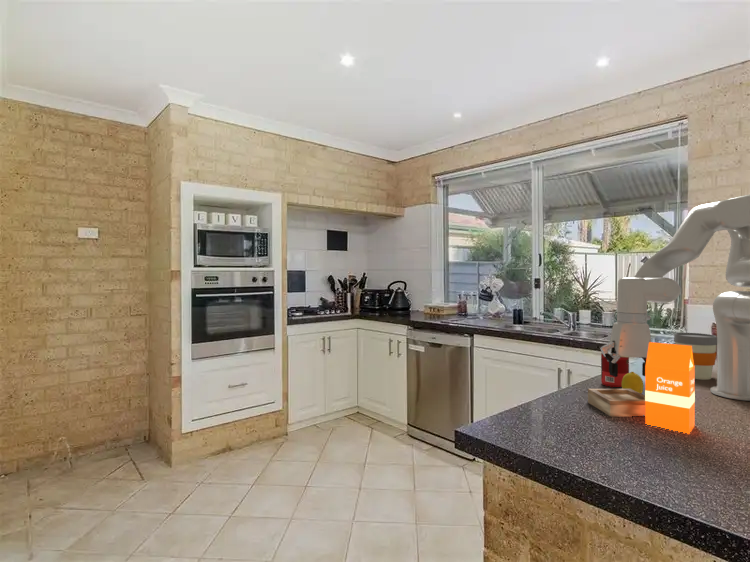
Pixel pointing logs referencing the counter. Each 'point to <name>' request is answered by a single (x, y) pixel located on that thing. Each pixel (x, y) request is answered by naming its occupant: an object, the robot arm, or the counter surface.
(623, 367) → the canned food
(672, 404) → the orange juice
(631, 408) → the square wooden box
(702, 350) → the reusable coffee cup
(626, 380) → the lemon
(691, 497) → the counter surface
